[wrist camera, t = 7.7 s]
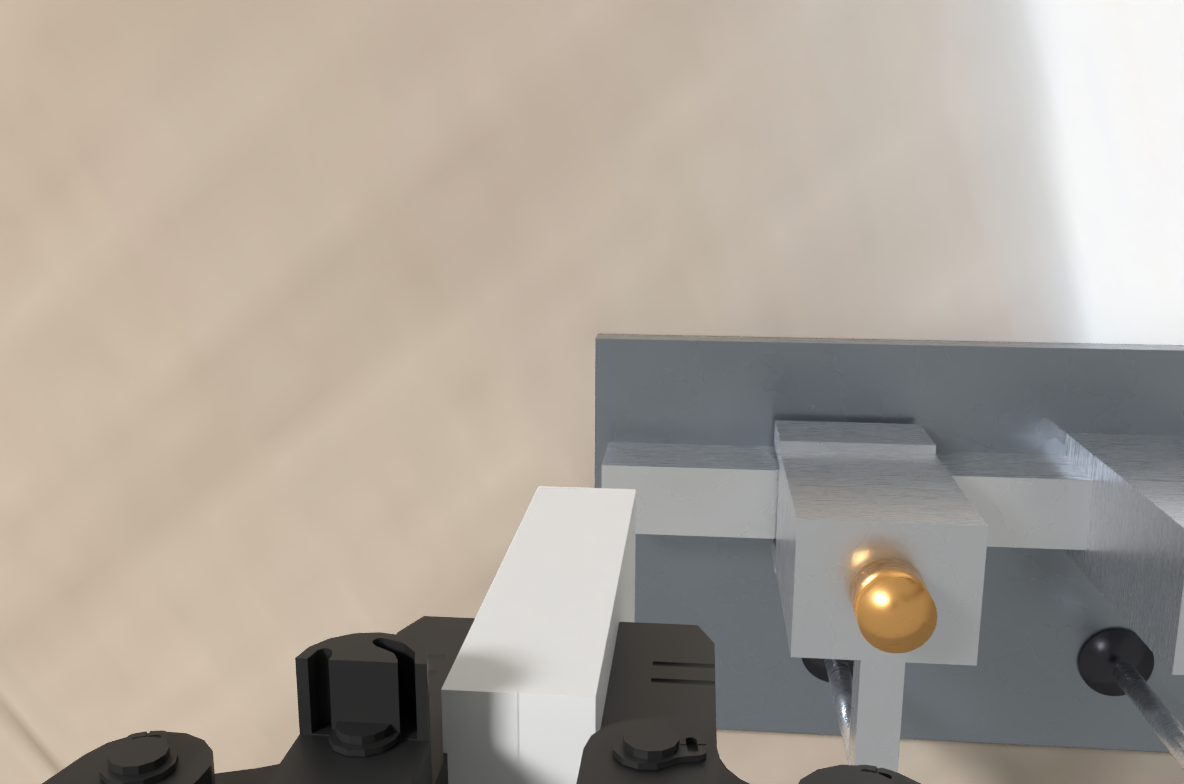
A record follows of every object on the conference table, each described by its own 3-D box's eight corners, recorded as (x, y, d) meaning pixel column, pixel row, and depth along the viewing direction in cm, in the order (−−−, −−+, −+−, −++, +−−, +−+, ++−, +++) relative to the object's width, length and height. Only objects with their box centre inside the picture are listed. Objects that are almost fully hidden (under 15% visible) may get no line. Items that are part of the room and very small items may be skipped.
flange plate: (1229, 346, 39) (1287, 369, 35) (1178, 739, 42) (1226, 799, 39) (598, 333, 41) (587, 353, 37) (596, 709, 44) (586, 764, 41)
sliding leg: (919, 424, 39) (1005, 536, 28) (902, 670, 41) (976, 864, 30) (774, 420, 40) (802, 528, 29) (764, 664, 42) (787, 853, 31)
